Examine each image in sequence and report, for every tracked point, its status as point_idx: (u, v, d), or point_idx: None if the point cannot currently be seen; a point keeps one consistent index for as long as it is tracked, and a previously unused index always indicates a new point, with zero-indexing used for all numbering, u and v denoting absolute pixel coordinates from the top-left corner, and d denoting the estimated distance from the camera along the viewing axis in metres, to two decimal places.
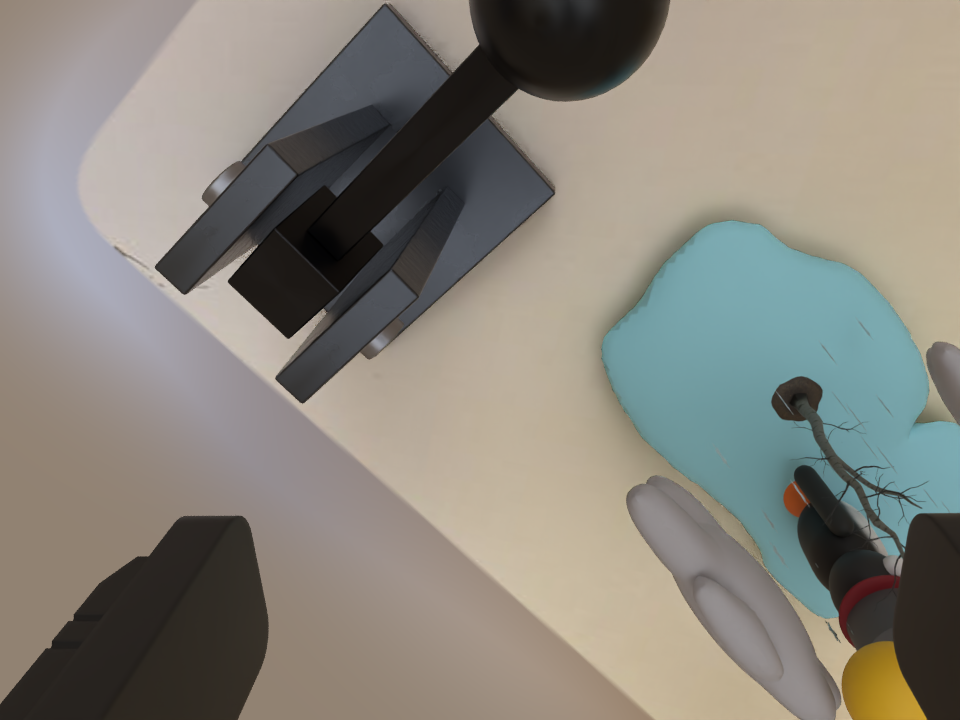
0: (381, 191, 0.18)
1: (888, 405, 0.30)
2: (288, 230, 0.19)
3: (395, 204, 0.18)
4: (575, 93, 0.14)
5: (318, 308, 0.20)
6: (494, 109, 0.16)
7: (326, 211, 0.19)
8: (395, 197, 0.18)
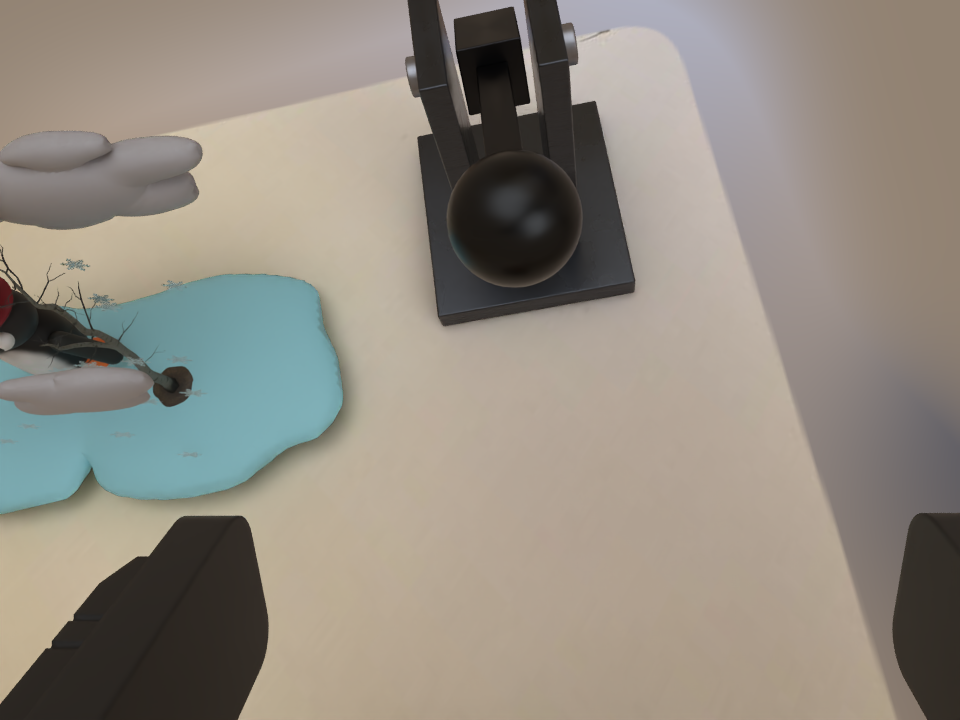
0: (493, 100, 0.25)
1: (119, 448, 0.35)
2: (513, 46, 0.26)
3: (480, 103, 0.25)
4: None
5: (456, 38, 0.27)
6: None
7: (508, 73, 0.26)
8: (484, 104, 0.25)
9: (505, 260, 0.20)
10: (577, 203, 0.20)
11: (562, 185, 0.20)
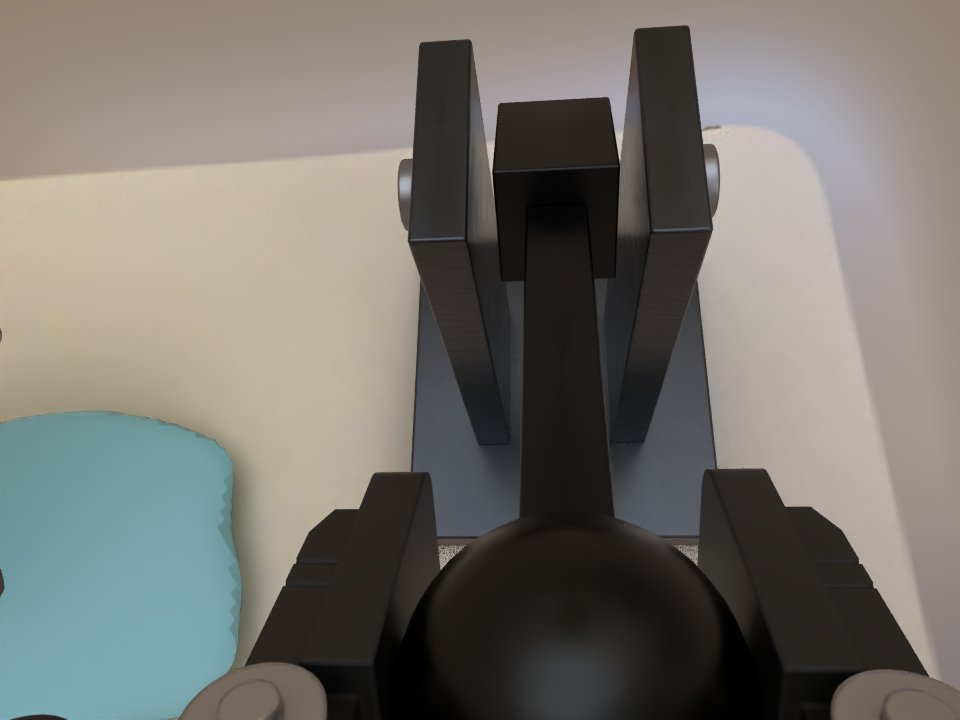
0: (554, 294, 0.12)
1: None
2: (604, 180, 0.14)
3: (526, 297, 0.12)
4: (438, 581, 0.08)
5: (498, 144, 0.14)
6: (522, 477, 0.09)
7: (587, 232, 0.13)
8: (533, 302, 0.12)
9: None
10: None
11: (732, 694, 0.07)
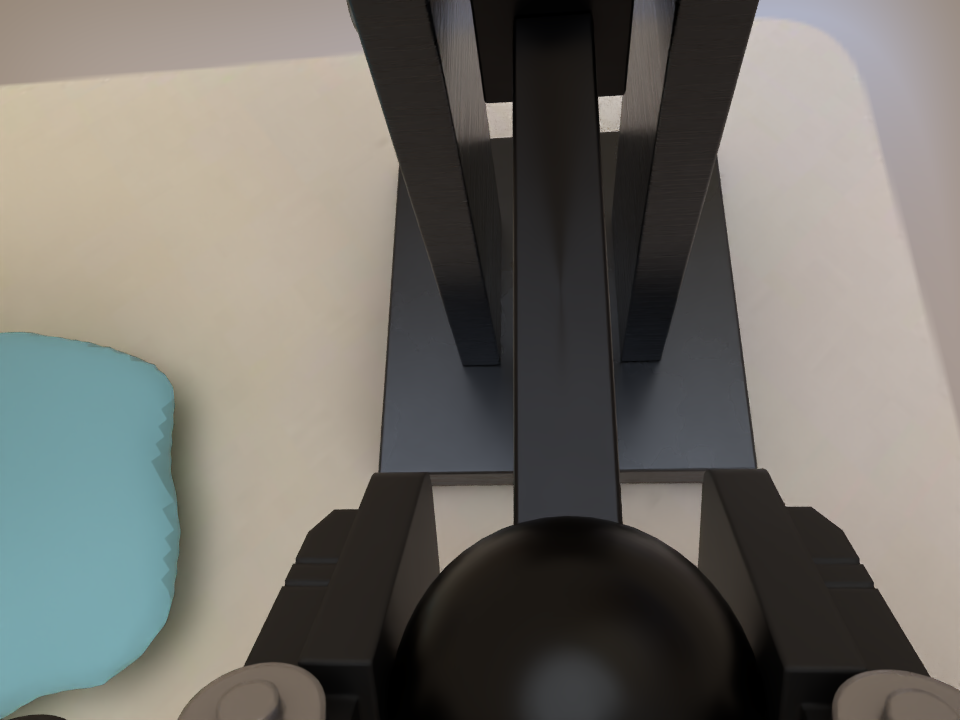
0: (550, 173, 0.10)
1: None
2: None
3: (516, 176, 0.10)
4: (427, 631, 0.07)
5: None
6: (516, 454, 0.08)
7: (592, 65, 0.10)
8: (525, 186, 0.10)
9: None
10: None
11: None
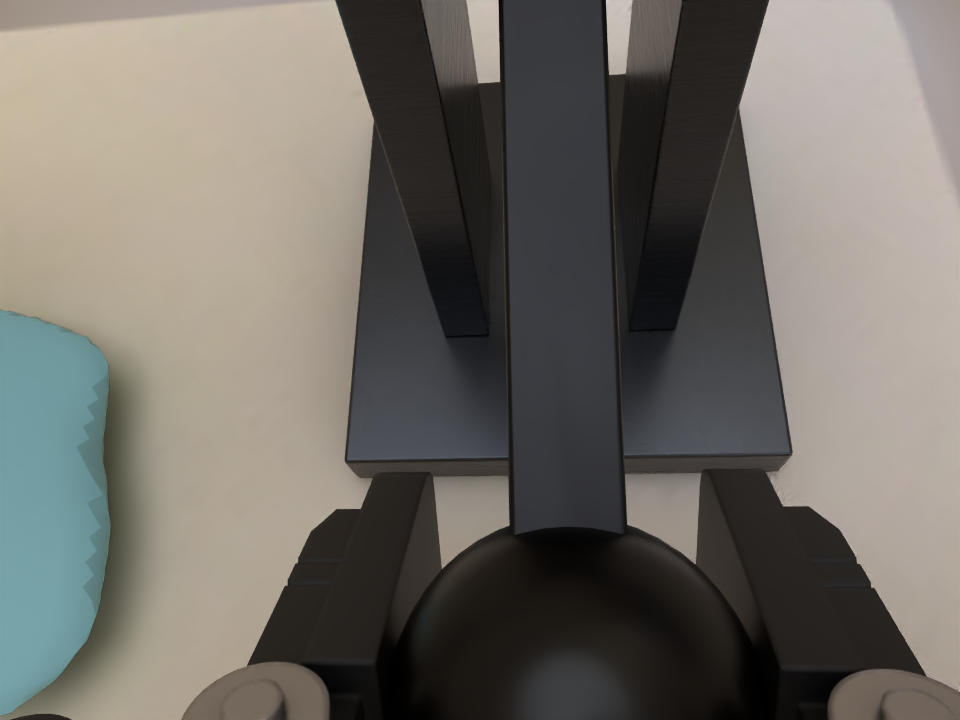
0: (546, 98, 0.08)
1: None
2: None
3: (504, 103, 0.08)
4: (421, 672, 0.07)
5: None
6: (511, 456, 0.08)
7: None
8: (516, 117, 0.08)
9: None
10: None
11: None
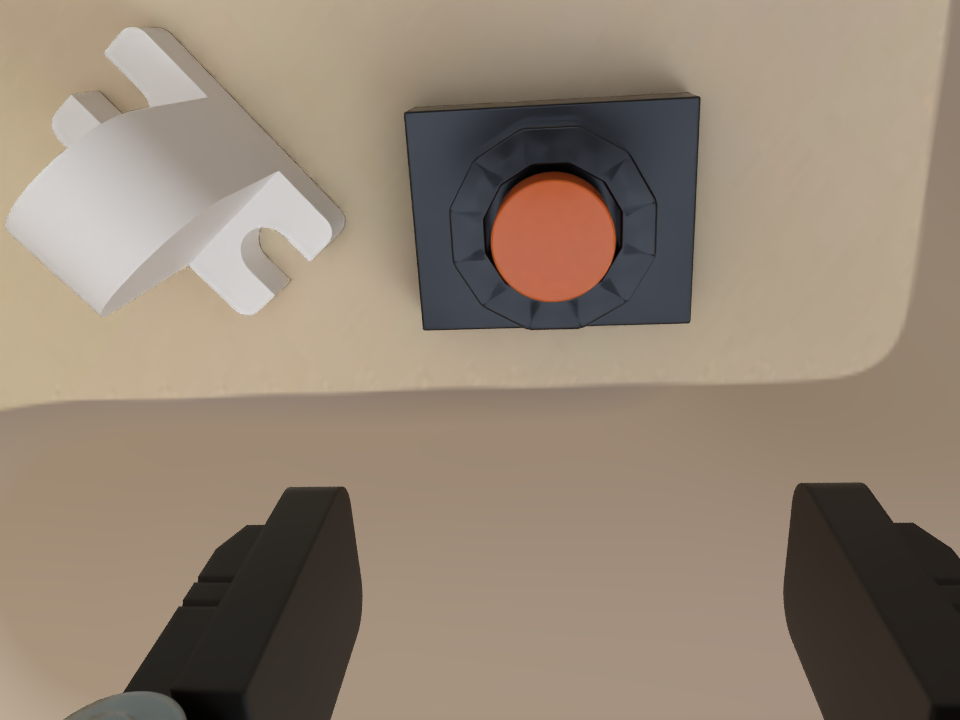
0: None
1: None
2: None
3: None
4: None
5: None
6: None
7: None
8: None
9: None
10: None
11: None
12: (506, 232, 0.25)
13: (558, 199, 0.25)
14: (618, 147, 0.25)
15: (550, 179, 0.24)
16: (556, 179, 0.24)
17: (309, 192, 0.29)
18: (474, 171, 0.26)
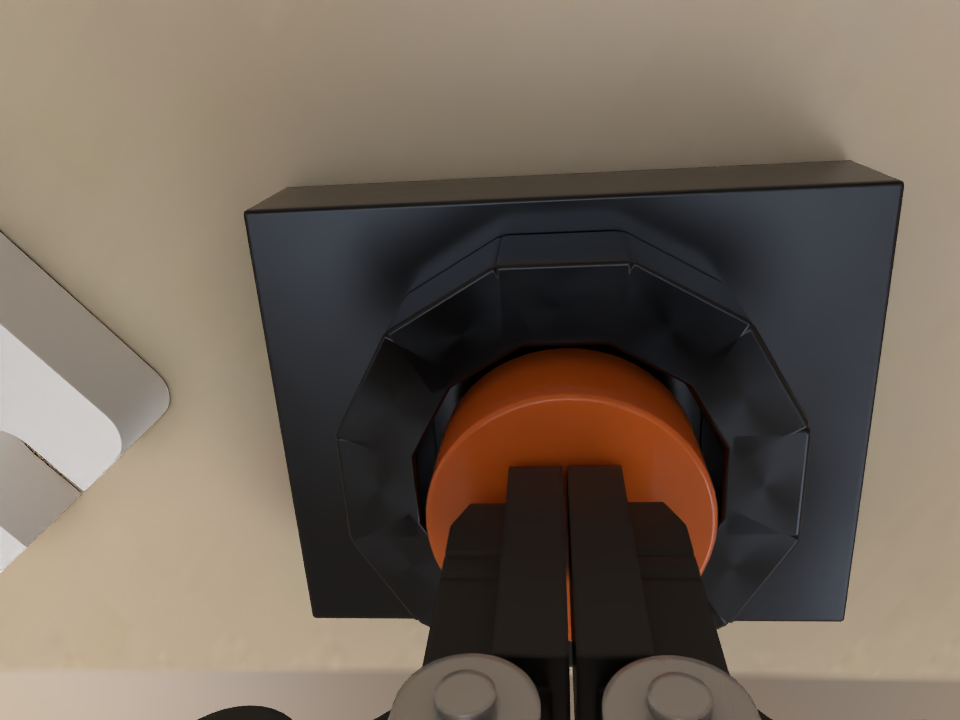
0: None
1: None
2: None
3: None
4: None
5: None
6: None
7: None
8: None
9: None
10: None
11: None
12: (461, 503, 0.11)
13: (581, 438, 0.10)
14: (726, 311, 0.11)
15: (564, 391, 0.10)
16: (578, 392, 0.10)
17: (79, 357, 0.15)
18: (387, 358, 0.11)
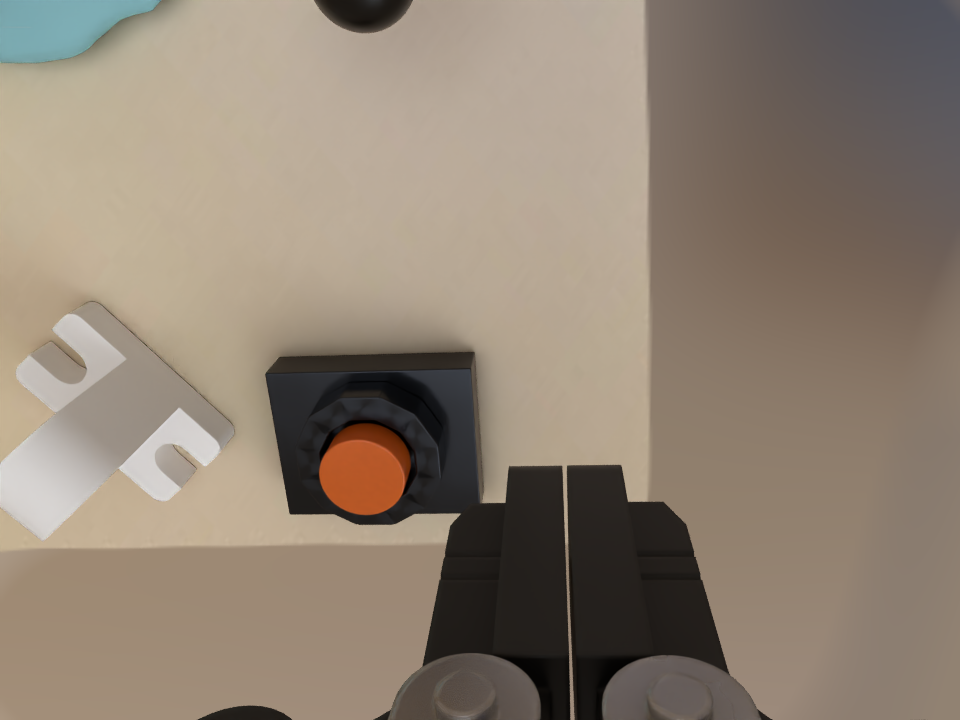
0: None
1: None
2: None
3: None
4: None
5: None
6: None
7: None
8: None
9: None
10: None
11: None
12: (329, 471, 0.36)
13: (362, 451, 0.35)
14: (407, 411, 0.36)
15: (356, 438, 0.35)
16: (360, 438, 0.35)
17: (203, 417, 0.40)
18: (309, 423, 0.37)
